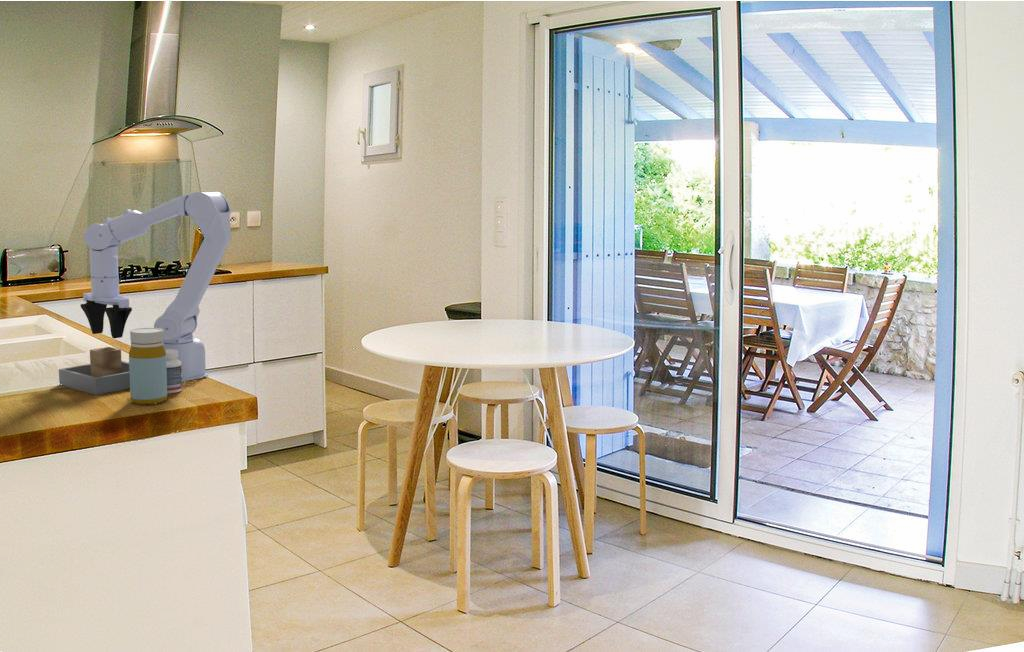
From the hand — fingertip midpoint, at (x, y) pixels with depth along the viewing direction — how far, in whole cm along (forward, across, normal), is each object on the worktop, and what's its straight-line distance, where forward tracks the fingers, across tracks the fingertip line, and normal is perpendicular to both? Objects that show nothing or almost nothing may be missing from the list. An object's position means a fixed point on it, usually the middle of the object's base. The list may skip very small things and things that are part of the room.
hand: (107, 335), depth 192 cm
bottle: (+10, +26, -8) cm, 29 cm away
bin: (+9, +7, -5) cm, 13 cm away
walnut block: (+9, +7, -5) cm, 12 cm away
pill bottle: (+10, +22, 0) cm, 24 cm away
